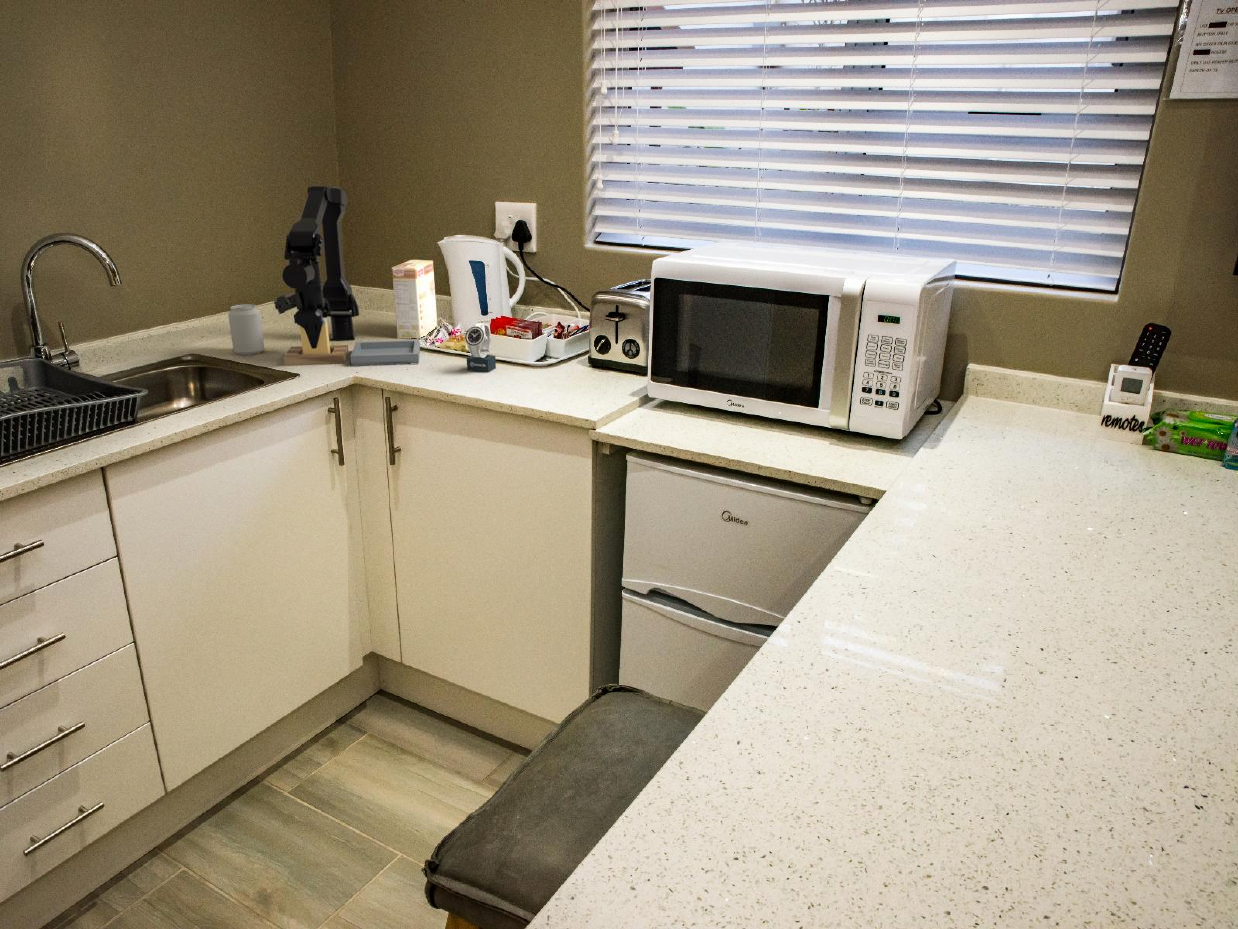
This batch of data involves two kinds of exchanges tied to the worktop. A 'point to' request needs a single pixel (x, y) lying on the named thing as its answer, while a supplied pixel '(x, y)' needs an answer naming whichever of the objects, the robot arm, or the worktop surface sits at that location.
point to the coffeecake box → (414, 298)
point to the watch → (479, 340)
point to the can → (246, 329)
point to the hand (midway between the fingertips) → (316, 345)
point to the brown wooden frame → (316, 356)
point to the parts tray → (385, 352)
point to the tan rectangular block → (323, 341)
